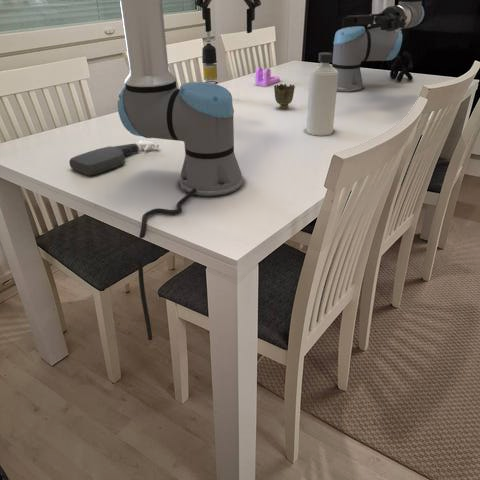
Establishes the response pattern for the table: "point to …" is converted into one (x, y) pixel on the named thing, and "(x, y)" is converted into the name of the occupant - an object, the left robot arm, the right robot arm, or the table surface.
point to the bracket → (265, 77)
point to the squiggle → (398, 64)
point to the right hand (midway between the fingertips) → (362, 23)
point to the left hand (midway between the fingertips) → (228, 32)
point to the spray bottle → (106, 157)
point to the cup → (284, 95)
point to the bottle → (321, 100)
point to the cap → (325, 57)
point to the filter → (209, 61)
